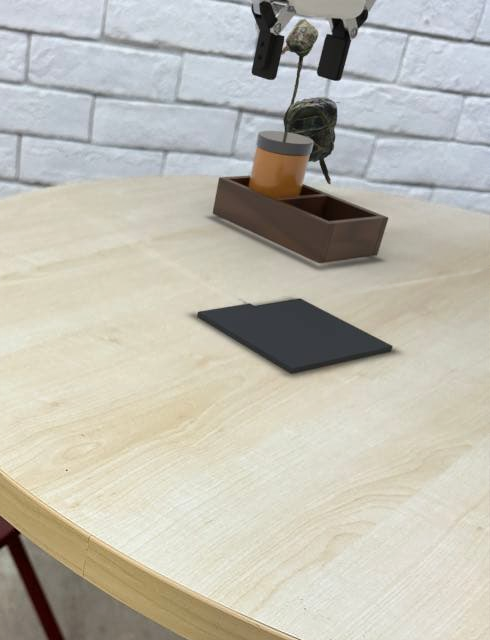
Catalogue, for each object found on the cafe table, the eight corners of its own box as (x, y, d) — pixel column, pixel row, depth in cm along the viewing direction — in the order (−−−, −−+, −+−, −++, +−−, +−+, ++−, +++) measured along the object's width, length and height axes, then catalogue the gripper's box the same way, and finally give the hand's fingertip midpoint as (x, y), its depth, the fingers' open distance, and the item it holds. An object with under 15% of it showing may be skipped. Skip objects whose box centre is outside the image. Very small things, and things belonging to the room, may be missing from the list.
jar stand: (268, 212, 105) (276, 173, 102) (376, 260, 94) (388, 217, 91) (211, 218, 100) (218, 177, 98) (317, 268, 89) (329, 223, 86)
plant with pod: (321, 209, 109) (368, 29, 97) (235, 193, 111) (270, 15, 99) (328, 195, 115) (373, 24, 103) (246, 180, 117) (281, 11, 105)
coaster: (294, 300, 81) (295, 295, 80) (391, 351, 73) (393, 346, 73) (196, 316, 75) (197, 311, 74) (290, 373, 67) (292, 368, 67)
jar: (268, 212, 103) (286, 129, 97) (304, 227, 99) (325, 143, 93) (230, 215, 100) (246, 131, 94) (265, 232, 96) (285, 144, 90)
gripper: (306, -135, 74) (260, 84, 84) (433, -111, 82) (376, 86, 92) (249, -139, 78) (212, 69, 89) (374, -116, 87) (327, 72, 97)
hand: (296, 77), depth 91 cm, fingers open, 9 cm apart
